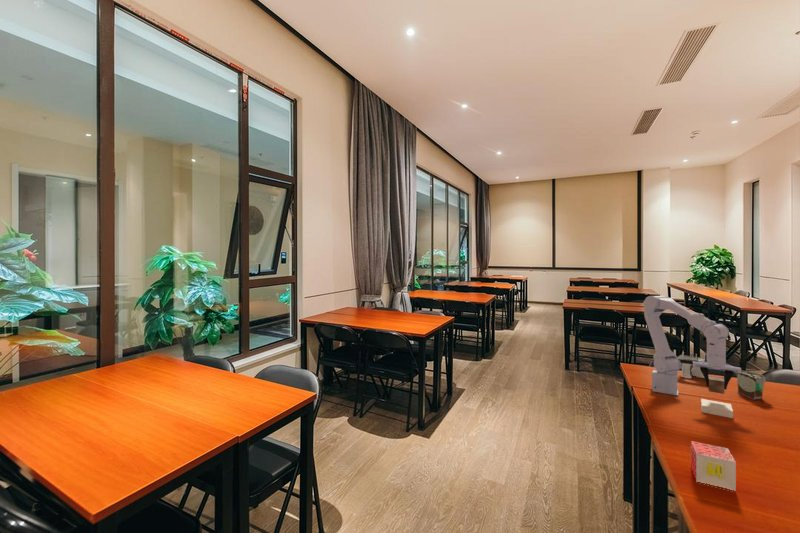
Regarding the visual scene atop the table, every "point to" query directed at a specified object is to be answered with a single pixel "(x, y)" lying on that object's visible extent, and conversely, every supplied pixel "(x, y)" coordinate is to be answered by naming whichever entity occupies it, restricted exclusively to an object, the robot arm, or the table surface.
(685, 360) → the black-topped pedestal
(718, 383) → the grayish beige block
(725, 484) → the pink and white box
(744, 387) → the food container
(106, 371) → the table surface
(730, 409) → the base block
